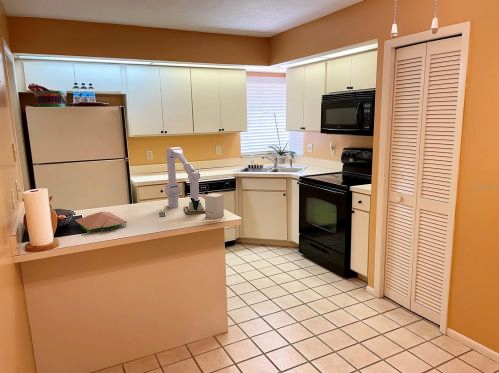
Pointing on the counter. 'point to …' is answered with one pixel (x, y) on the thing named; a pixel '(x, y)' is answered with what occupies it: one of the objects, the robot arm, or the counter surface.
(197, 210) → the pale green rectangular block
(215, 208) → the supplement box
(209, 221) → the counter surface
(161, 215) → the charcoal mat
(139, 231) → the counter surface
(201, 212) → the walnut rack
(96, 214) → the green-backed flat pad
